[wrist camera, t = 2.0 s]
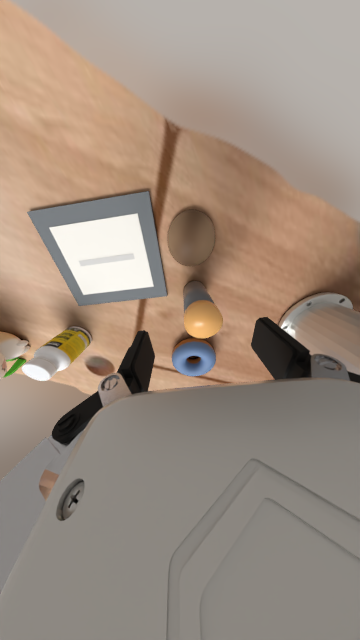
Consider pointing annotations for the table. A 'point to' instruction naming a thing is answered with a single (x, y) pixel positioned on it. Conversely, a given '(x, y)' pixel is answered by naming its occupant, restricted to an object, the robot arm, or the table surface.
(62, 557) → the robot arm
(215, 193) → the table surface
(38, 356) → the supplement bottle
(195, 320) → the marker
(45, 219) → the grey picture frame
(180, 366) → the doughnut
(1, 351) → the kitten
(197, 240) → the coaster
